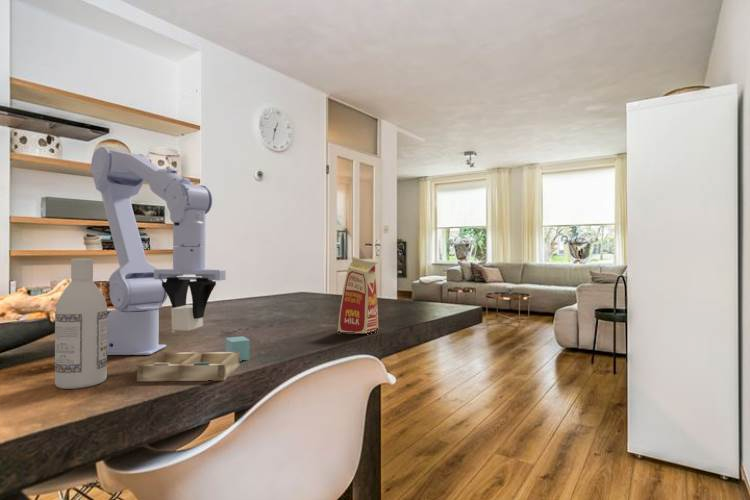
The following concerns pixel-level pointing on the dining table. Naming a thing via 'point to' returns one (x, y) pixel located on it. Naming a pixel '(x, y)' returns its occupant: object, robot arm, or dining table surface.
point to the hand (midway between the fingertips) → (189, 317)
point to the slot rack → (188, 366)
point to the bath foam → (81, 330)
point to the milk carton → (359, 298)
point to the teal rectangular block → (239, 347)
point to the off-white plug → (184, 318)
